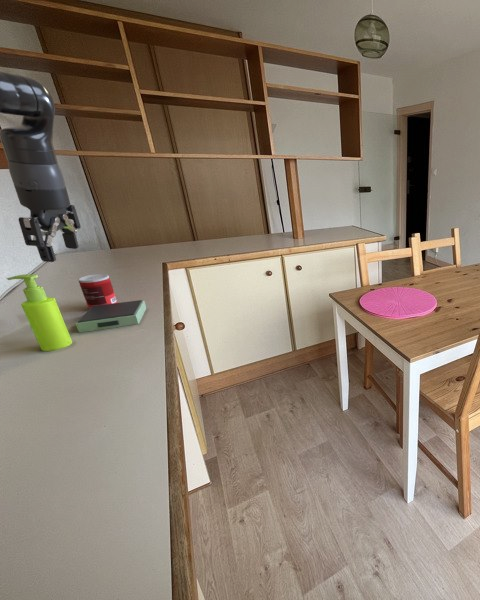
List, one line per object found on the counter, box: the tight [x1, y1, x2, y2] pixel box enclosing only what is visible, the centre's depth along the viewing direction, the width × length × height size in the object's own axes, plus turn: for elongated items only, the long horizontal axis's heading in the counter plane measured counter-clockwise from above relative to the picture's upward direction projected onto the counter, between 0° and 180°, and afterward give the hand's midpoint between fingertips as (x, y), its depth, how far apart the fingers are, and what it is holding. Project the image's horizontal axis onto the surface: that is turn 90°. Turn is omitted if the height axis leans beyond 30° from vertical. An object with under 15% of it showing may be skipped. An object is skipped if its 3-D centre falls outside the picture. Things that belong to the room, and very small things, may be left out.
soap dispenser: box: [6, 274, 73, 352], centre depth 81 cm, size 6×7×20 cm
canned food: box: [77, 273, 118, 310], centre depth 108 cm, size 8×8×11 cm
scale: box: [75, 299, 147, 333], centre depth 100 cm, size 14×14×3 cm
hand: (61, 254), depth 74 cm, fingers open, 8 cm apart
